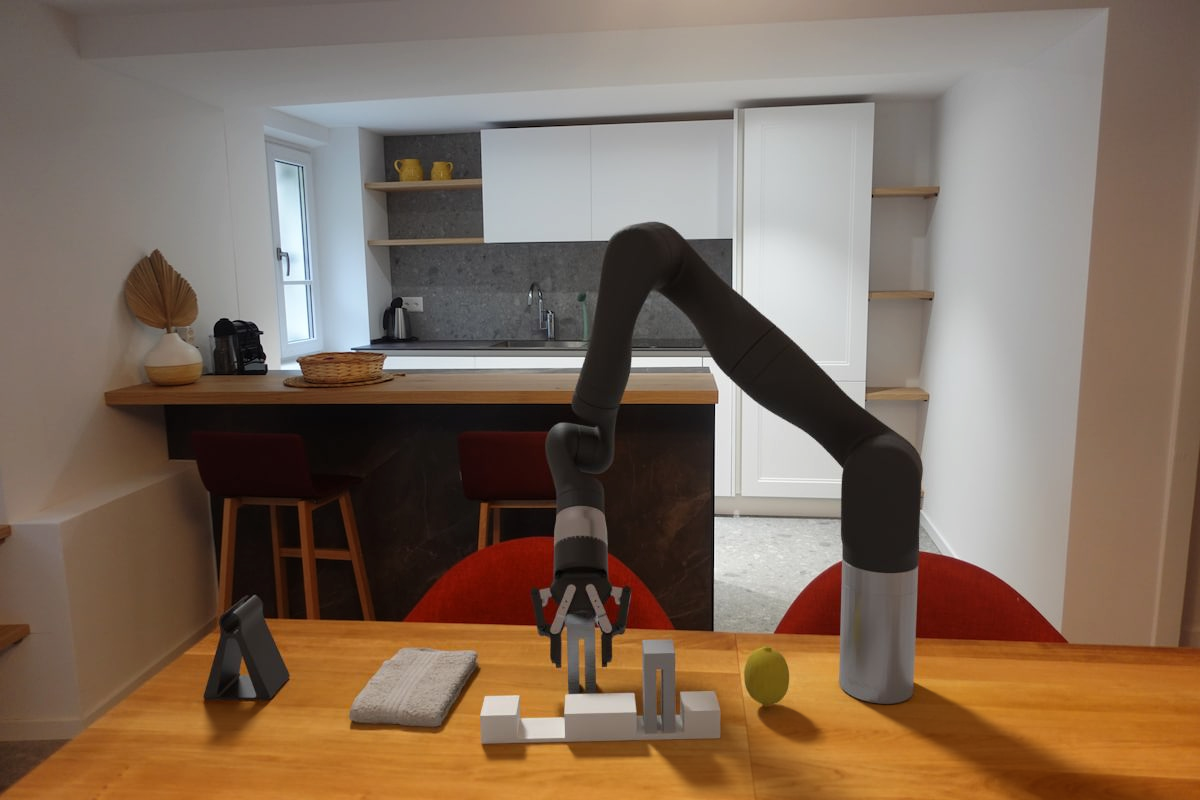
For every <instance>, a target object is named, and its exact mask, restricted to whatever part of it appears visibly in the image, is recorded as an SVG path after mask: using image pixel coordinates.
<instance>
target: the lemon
mask: <svg viewBox="0 0 1200 800" xmlns="http://www.w3.org/2000/svg"><path fill="white" fill-rule="evenodd" d="M743 672H744V673H743V678H744V679H743V680H744V686H745V689H746V691H747V693H748V694H749V696H750V697H751V698H752V699H753V701H755V702H757V703H758V704H761V705H762V706H763V707H764V708H768V707H770V706H771V705H775V704H777V703H778V702H780V701H781V700H783V699H784V697H785V696H786V694H787V693H788V689H789V684H790V671H789V667H788V663H787V660H786V659H785V657H784V656H783V654H782V653H781V652H780V651H779V650H777V649H775V648H773V647H771V646H769V645H764V646H763V647H759V648H756V649H755V650H754V651H752V652H751V653H750V654H749V655H748V657H747V659H746V663H745V665H744V671H743Z"/></svg>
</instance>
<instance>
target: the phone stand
mask: <svg viewBox="0 0 1200 800" xmlns="http://www.w3.org/2000/svg"><path fill="white" fill-rule="evenodd" d="M248 598H249V594H247V595H245V596H244V597H242V598H241V599H240V600H239V601H237V602H236V603H235V604H234V605H233V606H231V607H230V608H229V609H227V610H226V611H225V612H223V613H222V614H221V615H220V617H219V619H218V625H219V631H220V634H219V635H220V636H219V640H218V643H217V647H216V650H215V654H214V657H213V660H212V665H211V668H210V673H209V675H208V679H207V683H206V686H205V690H204V693H203V697H202V698H203V699H204V700H205V701H207V700H208V701H237V700H238V701H270V700H271V699H272V698H273V696H274V695H276V693H277V692H279V689H280V688H281V687H282V686H283V685H284V684H285V683H286V682H287V681H288V680H289V679H290V677H291V675H290V672H289V671H288V667H287V666H286V663H285V661H284V659H283V657H282V655H281V653H280V650H279V648H278V646H277V644H276V642H275V640H274V637H273V635H272V633H271V630H270V628H269V626H268V624H267V622H266V619H265V616H264V611H263V608H264V603H263V601H262V600H261V598H260V597H259V596H257V594H254V595H252V596H251V597H250V598H249V599H248ZM247 599H248V600H247ZM245 600H246V602H245ZM242 660H243V662H244V664H245V666H246V667H245V668H246V670H247V673H248V675H247V674H246V675H245V674H244V675H242V674H241V673H240V670H241V664H242Z"/></svg>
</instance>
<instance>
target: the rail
mask: <svg viewBox="0 0 1200 800" xmlns="http://www.w3.org/2000/svg"><path fill="white" fill-rule="evenodd" d="M641 643H642V644H641V649H642V650H641V651H642V652H641V653H642V654H641V655H642V660H641V661H642V665H641V666H642V667H641V668H642V715H637V705H636V695H635V692H613V693H612V692H611V693H596V694H585V693H579V694H568V693H567V694H566V693H565V697H564V713H563V715H564V717H560V716H559V717H558V716H557V717H523V718H522V717H521V700H520V697H521V696H520V694H519V695H518V694H517V695H516V694H515V695H514V694H513V695H484V699H483V703H482V706H481V711H480V715H479V721H480V722H479V723H480V744H483V745H485V744H488V745H489V744H521V743H523V744H524V743H525V744H526V743H527V744H528V743H562V742H563V743H565V742H566V743H567V742H568V743H569V742H570V743H572V742H607V741H608V742H610V741H611V742H614V741H617V742H618V741H653V740H654V741H658V740H660V741H662V740H693V739H694V740H698V739H700V740H703V739H721V708H720V705H719V701H718V698H717V695H716V691H715V690H707V691H706V690H703V691H700V690H699V691H697V690H695V691H694V690H693V691H679V701H680V702H679V706H680V707H679V710H680V711H679V712H680V713H679V714H676V650H675V647H674V642H673V639H669V638H668V639H641ZM657 670H660V714H657V711H658V710H657V709H658V707H657V705H658V704H657V700H658V699H657V698H658V697H657V692H658V691H657V686H658V685H657Z"/></svg>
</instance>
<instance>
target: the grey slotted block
mask: <svg viewBox="0 0 1200 800" xmlns="http://www.w3.org/2000/svg"><path fill="white" fill-rule="evenodd" d="M581 639H582V640H583V644H584V688H585V689H584V690H585V691H584V692H585V693H584V694H597V669H596V667H597V666H596V665H597V663H596V657H597V656H596V621H595V612H581V613H567V624H566V650H567V651H566V652H567V653H566V654H567V691H568V693H567V694H580V683H581V682H580V681H581V680H580V648H579V647H580V645H579V644H580V641H579V640H581Z"/></svg>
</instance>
